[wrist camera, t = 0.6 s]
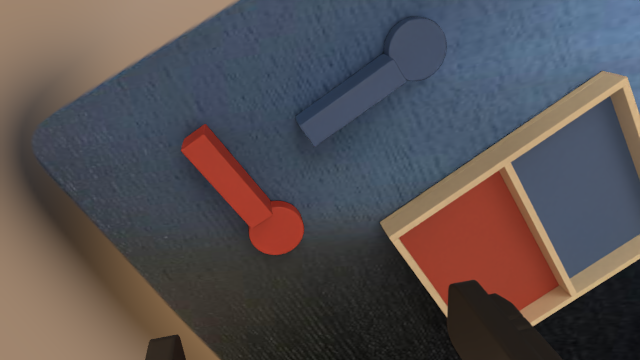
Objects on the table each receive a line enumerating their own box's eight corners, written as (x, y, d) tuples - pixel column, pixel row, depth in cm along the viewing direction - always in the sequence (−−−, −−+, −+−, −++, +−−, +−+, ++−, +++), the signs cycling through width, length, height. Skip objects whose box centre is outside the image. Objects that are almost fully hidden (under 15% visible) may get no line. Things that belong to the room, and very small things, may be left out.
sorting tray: (379, 222, 39) (388, 237, 37) (602, 70, 37) (627, 76, 35) (466, 341, 47) (478, 360, 45) (655, 221, 45) (678, 234, 43)
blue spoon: (317, 148, 36) (323, 159, 33) (285, 104, 34) (288, 112, 32) (449, 55, 35) (465, 60, 32) (423, 3, 33) (437, 5, 30)
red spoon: (170, 148, 34) (166, 160, 31) (218, 113, 33) (217, 123, 31) (269, 256, 39) (272, 273, 37) (312, 227, 38) (317, 242, 36)
